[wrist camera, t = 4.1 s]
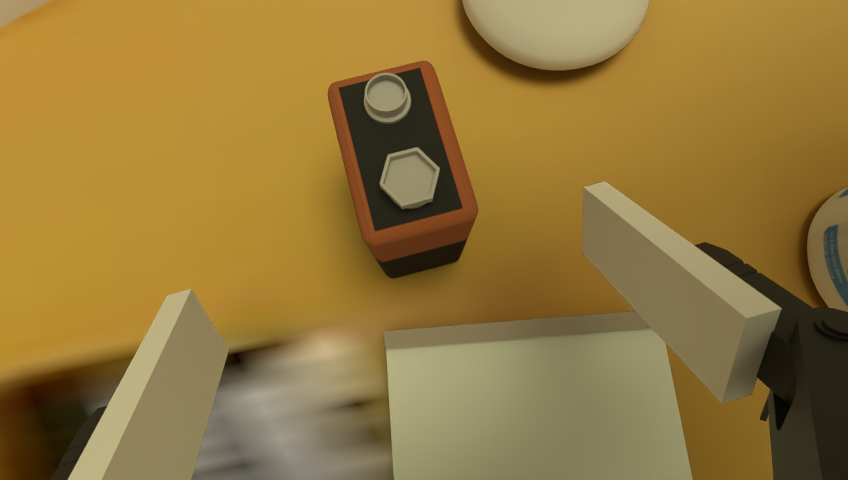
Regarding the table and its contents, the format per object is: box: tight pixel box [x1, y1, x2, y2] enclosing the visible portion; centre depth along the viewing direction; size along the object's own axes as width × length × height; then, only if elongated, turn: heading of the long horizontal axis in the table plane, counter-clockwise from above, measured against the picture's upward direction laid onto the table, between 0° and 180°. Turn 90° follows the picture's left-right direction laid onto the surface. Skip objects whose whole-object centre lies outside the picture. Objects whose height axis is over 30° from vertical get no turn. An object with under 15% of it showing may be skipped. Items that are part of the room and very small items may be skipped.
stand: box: [384, 311, 693, 480], centre depth 20 cm, size 13×13×4 cm
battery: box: [328, 61, 478, 278], centre depth 20 cm, size 4×7×10 cm, turn 15°
